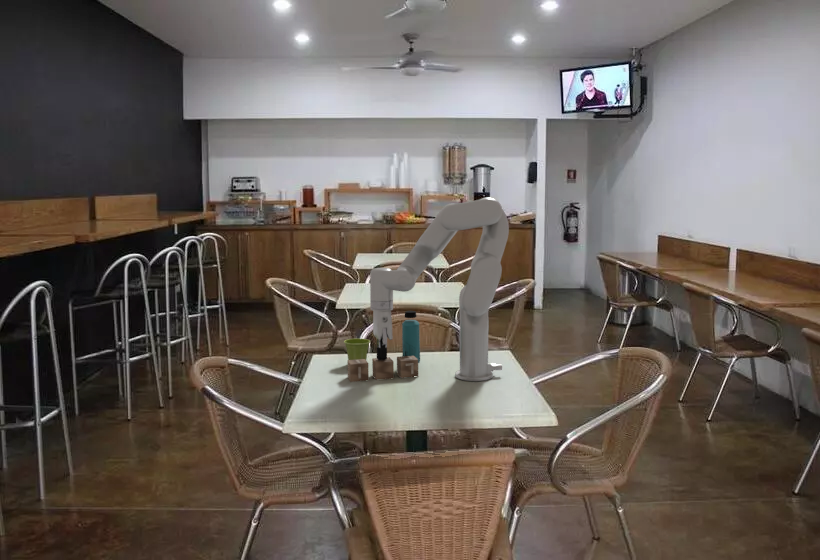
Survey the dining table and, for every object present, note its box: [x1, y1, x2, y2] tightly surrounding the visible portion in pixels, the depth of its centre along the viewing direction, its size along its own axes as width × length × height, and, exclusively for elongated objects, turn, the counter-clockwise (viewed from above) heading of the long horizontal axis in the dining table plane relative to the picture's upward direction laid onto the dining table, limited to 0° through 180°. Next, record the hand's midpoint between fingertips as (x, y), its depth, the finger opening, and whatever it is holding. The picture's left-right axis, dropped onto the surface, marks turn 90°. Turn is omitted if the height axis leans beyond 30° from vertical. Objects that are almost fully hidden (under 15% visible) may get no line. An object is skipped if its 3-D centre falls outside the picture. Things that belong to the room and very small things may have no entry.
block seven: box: [396, 355, 419, 379], centre depth 242 cm, size 6×6×6 cm
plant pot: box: [343, 338, 371, 361], centre depth 257 cm, size 9×9×9 cm
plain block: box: [371, 356, 395, 381], centre depth 240 cm, size 6×6×6 cm
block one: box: [347, 359, 370, 383], centre depth 238 cm, size 6×6×6 cm
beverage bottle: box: [401, 310, 421, 364], centre depth 253 cm, size 6×7×20 cm
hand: (381, 358), depth 240 cm, fingers closed
